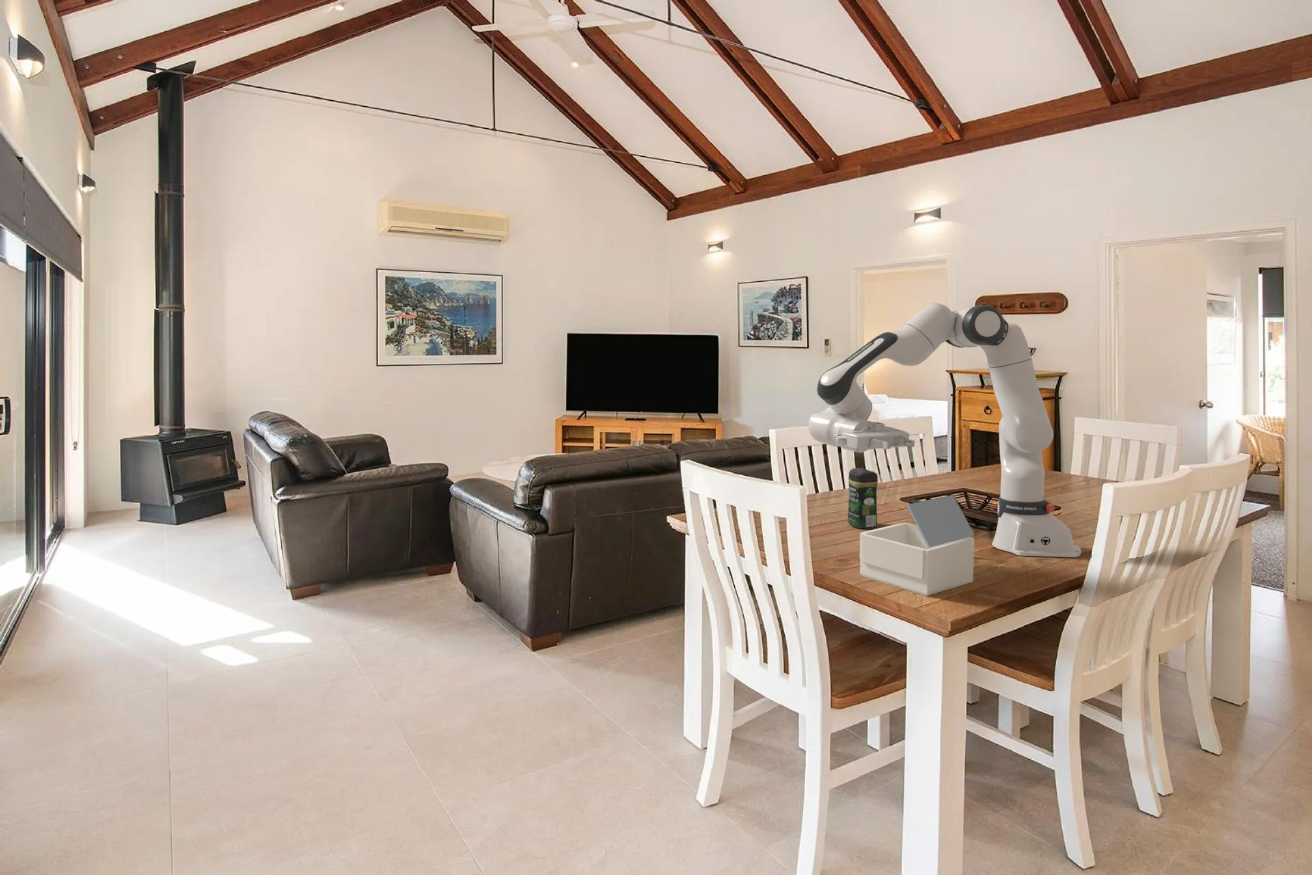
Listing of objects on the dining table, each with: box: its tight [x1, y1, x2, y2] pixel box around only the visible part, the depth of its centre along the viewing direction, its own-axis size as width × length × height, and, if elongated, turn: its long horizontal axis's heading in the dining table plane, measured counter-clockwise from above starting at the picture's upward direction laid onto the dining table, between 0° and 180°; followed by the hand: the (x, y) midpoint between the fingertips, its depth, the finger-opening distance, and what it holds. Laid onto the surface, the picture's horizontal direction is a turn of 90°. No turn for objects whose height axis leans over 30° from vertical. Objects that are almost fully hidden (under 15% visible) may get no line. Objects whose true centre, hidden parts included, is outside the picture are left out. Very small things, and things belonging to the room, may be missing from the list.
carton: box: [859, 522, 975, 597], centre depth 192 cm, size 21×19×11 cm
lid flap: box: [906, 494, 975, 548], centre depth 185 cm, size 11×17×1 cm
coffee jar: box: [847, 467, 879, 530], centre depth 246 cm, size 10×8×19 cm
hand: (901, 445), depth 194 cm, fingers open, 8 cm apart
